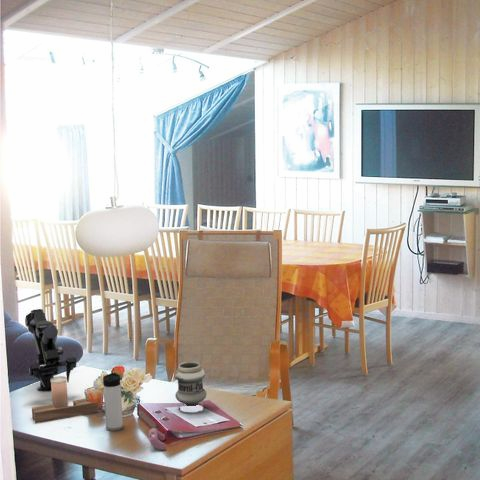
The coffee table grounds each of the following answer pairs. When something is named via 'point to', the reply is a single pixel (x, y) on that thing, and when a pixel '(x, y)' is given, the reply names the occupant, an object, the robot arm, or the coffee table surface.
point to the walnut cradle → (63, 411)
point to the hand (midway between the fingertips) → (56, 384)
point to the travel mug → (113, 402)
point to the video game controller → (157, 439)
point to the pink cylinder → (59, 392)
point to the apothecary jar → (190, 383)
